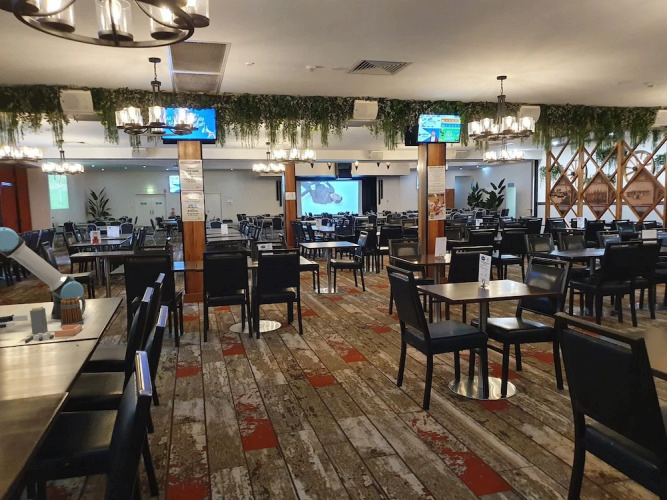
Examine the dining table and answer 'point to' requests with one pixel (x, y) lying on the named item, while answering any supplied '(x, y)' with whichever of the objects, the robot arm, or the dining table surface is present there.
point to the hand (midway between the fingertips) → (20, 321)
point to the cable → (39, 338)
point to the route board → (48, 338)
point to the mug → (72, 311)
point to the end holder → (68, 330)
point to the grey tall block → (38, 320)
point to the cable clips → (45, 336)
